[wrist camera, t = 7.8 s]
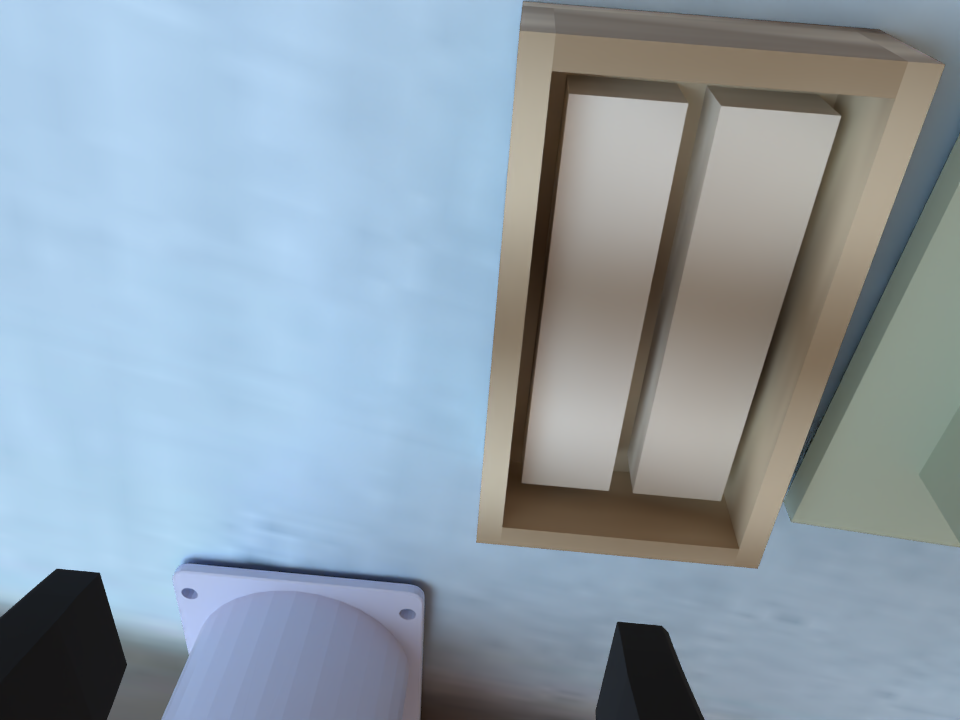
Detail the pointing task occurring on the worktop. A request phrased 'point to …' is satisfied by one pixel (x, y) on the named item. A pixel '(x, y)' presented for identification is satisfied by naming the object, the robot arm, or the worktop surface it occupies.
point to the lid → (898, 399)
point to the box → (681, 269)
